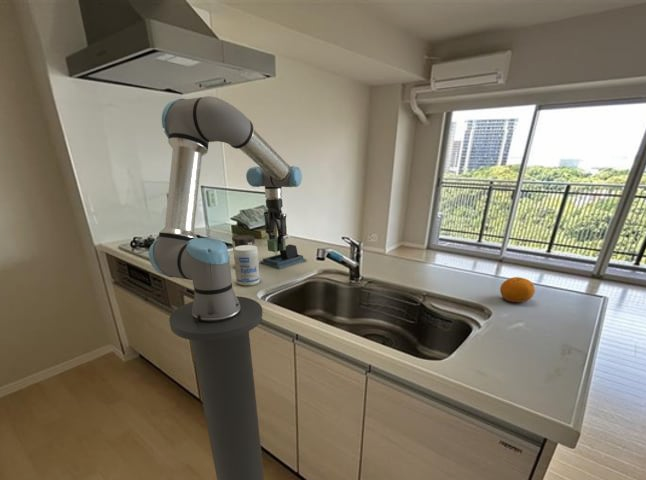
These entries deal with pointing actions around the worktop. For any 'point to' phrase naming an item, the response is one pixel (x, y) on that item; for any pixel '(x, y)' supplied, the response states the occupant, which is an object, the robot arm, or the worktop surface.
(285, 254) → the charcoal block
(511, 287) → the fruit
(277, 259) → the blue tray
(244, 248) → the supplement tub
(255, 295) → the worktop surface
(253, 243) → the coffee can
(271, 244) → the sage pad
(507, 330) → the worktop surface
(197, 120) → the robot arm
